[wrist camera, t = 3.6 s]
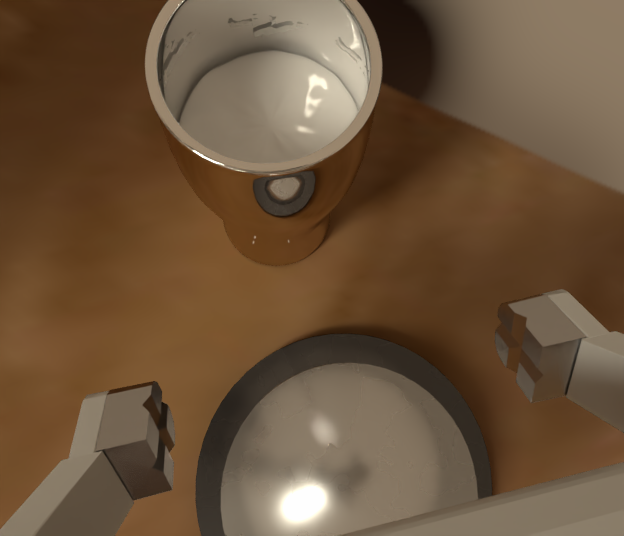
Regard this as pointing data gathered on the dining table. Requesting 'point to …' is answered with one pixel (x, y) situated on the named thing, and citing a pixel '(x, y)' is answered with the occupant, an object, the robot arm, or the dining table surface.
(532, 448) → the dining table surface
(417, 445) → the disc
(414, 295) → the dining table surface
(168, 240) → the dining table surface
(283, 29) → the beer glass
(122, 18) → the dining table surface
